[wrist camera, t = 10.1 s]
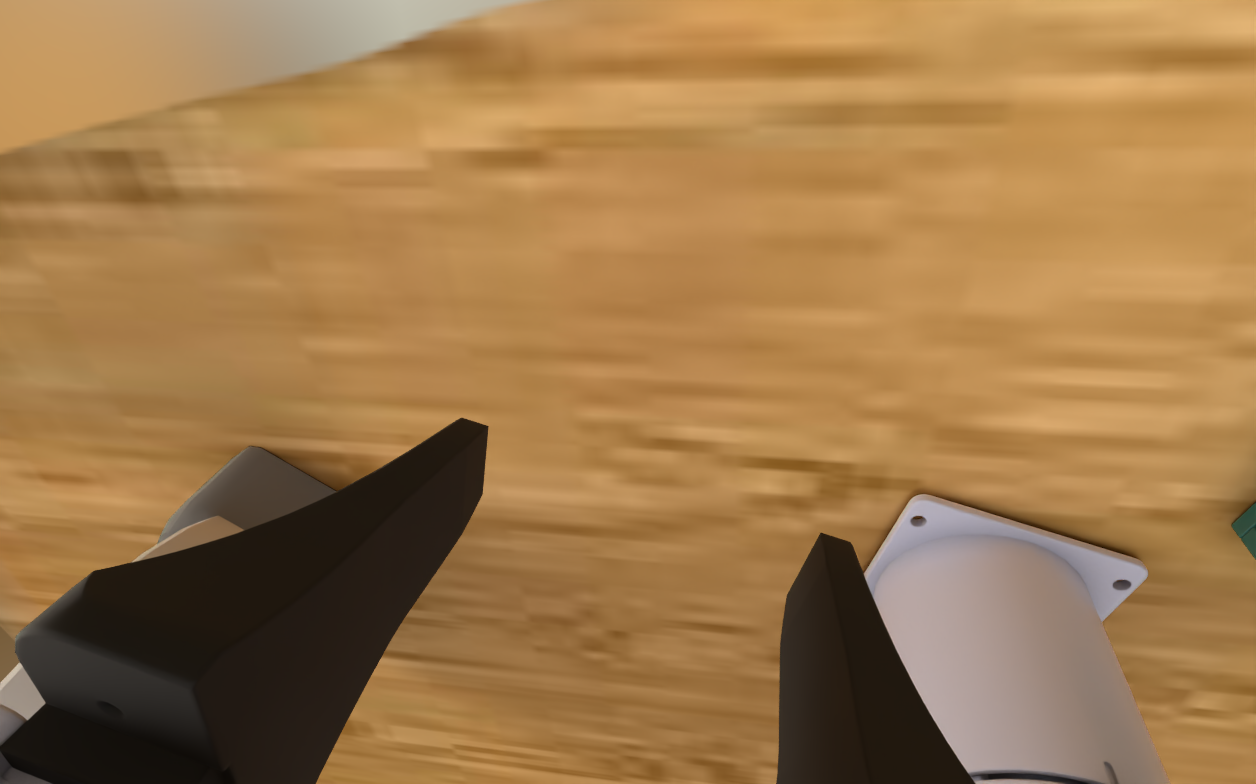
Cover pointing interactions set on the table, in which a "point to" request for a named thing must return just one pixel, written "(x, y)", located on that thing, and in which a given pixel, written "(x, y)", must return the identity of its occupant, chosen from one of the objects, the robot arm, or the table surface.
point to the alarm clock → (208, 528)
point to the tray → (1247, 529)
